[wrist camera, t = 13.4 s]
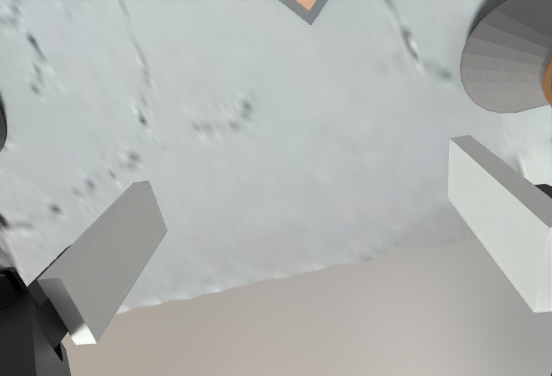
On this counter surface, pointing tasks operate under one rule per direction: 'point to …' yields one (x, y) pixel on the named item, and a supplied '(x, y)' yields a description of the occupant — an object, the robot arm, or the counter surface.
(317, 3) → the docking cradle
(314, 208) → the counter surface
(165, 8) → the counter surface
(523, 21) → the coffee pot
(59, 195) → the counter surface
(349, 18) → the counter surface
